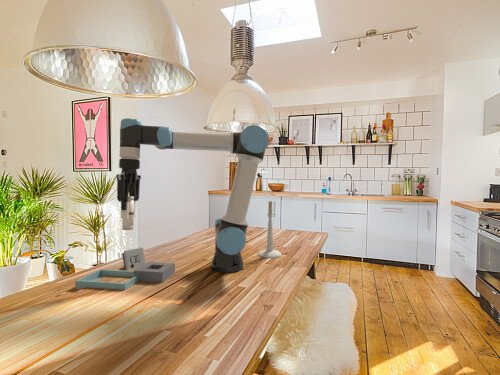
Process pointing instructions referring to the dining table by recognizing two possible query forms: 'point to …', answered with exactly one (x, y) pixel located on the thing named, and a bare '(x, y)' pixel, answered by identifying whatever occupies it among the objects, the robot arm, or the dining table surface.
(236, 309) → the dining table surface
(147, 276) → the fuse holder
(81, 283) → the parts tray
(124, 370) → the dining table surface
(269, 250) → the candlestick
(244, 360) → the dining table surface
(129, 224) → the cylinder
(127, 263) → the electrical switch
